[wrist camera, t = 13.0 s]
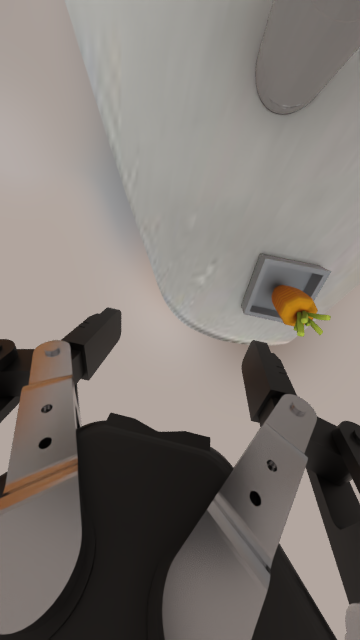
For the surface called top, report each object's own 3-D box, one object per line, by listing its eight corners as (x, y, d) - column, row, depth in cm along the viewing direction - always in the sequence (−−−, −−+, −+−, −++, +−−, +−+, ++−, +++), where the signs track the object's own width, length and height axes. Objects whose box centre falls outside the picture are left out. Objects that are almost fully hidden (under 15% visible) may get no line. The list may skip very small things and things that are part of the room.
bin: (260, 253, 34) (265, 258, 31) (319, 265, 34) (331, 271, 30) (241, 305, 40) (243, 314, 36) (291, 316, 39) (299, 326, 36)
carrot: (291, 273, 34) (339, 307, 21) (291, 298, 36) (334, 343, 23) (262, 278, 35) (290, 313, 22) (263, 302, 38) (290, 347, 25)
